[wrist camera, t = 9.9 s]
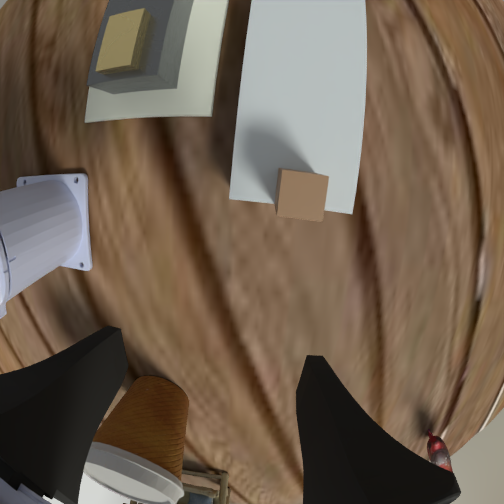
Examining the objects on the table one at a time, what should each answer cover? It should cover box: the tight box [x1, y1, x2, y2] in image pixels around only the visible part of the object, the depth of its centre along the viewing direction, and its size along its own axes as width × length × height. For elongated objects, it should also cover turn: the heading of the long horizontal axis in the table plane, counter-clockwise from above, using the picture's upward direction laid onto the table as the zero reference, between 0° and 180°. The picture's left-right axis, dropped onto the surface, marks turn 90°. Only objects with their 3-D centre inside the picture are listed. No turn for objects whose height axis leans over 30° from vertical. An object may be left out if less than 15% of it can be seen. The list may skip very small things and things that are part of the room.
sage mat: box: [85, 0, 229, 123], centre depth 14 cm, size 10×12×1 cm
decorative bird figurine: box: [427, 429, 453, 472], centre depth 22 cm, size 3×18×10 cm, turn 35°
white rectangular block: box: [229, 0, 367, 222], centre depth 12 cm, size 7×16×6 cm, turn 174°
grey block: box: [87, 0, 194, 94], centre depth 12 cm, size 5×8×4 cm, turn 174°
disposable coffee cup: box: [83, 376, 189, 504], centre depth 19 cm, size 10×10×12 cm
